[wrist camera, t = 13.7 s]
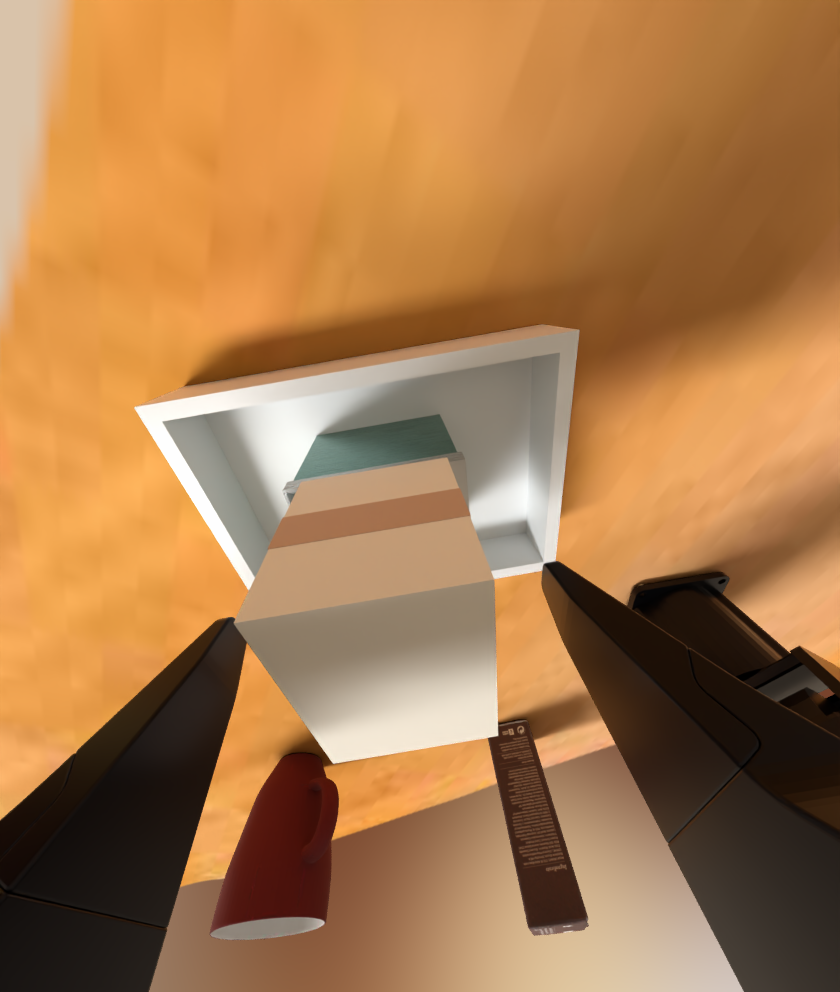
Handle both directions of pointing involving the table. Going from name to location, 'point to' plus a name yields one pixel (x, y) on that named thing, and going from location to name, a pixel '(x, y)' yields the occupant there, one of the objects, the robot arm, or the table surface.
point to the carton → (379, 613)
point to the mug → (282, 856)
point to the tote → (379, 400)
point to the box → (535, 834)
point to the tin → (380, 451)
